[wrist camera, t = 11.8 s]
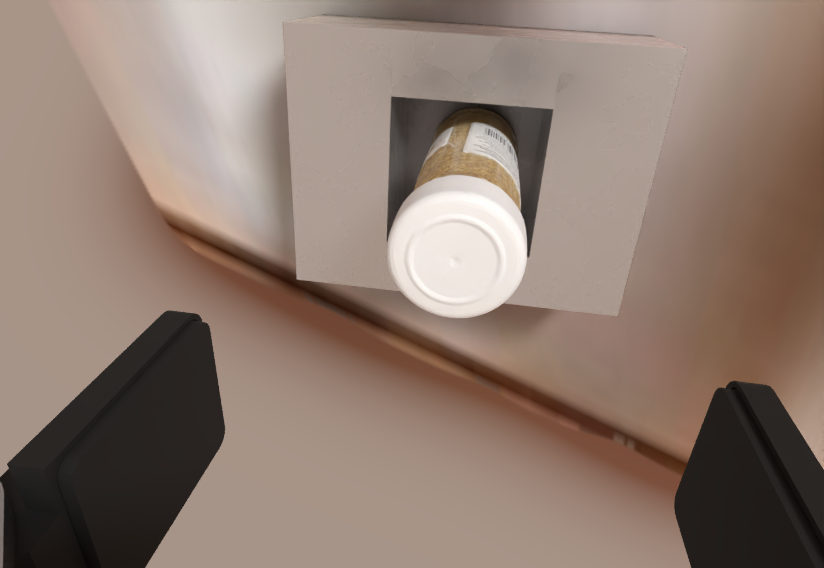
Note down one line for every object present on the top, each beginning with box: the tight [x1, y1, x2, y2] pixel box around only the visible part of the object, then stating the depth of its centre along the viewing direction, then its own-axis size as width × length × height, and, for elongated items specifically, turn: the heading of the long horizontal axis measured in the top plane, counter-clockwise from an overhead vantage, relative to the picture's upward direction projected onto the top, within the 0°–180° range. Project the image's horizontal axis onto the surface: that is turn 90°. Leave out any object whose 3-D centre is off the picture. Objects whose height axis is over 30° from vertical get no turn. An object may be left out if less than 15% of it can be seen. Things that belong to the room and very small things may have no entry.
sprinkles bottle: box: [386, 108, 527, 318], centre depth 24 cm, size 5×5×13 cm
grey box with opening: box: [283, 14, 687, 317], centre depth 28 cm, size 16×12×6 cm
